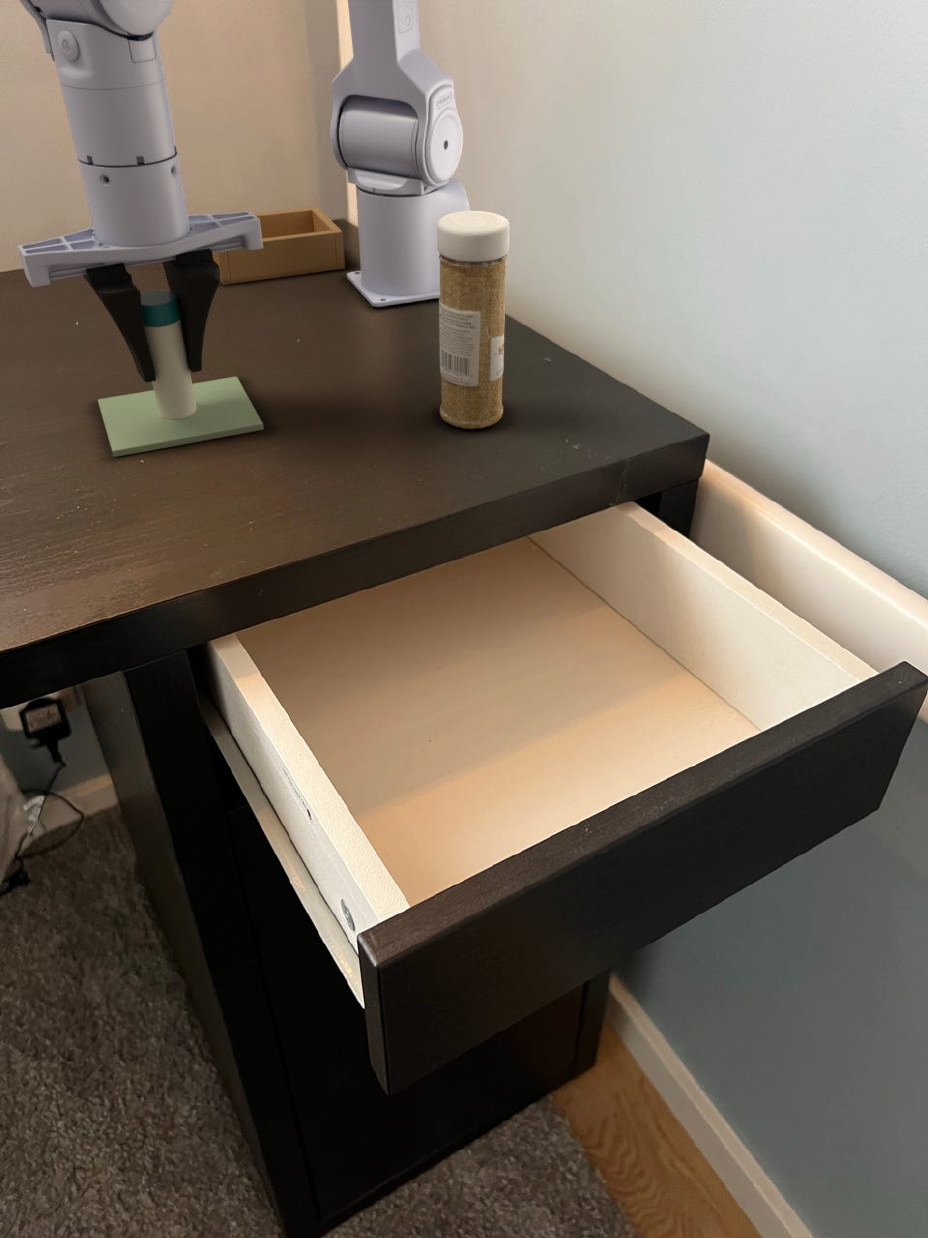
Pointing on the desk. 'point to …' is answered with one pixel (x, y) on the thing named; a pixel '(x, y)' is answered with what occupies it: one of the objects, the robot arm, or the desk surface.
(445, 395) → the spice jar
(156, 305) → the white bottle teal cap
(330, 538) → the desk surface
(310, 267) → the box
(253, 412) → the mat
